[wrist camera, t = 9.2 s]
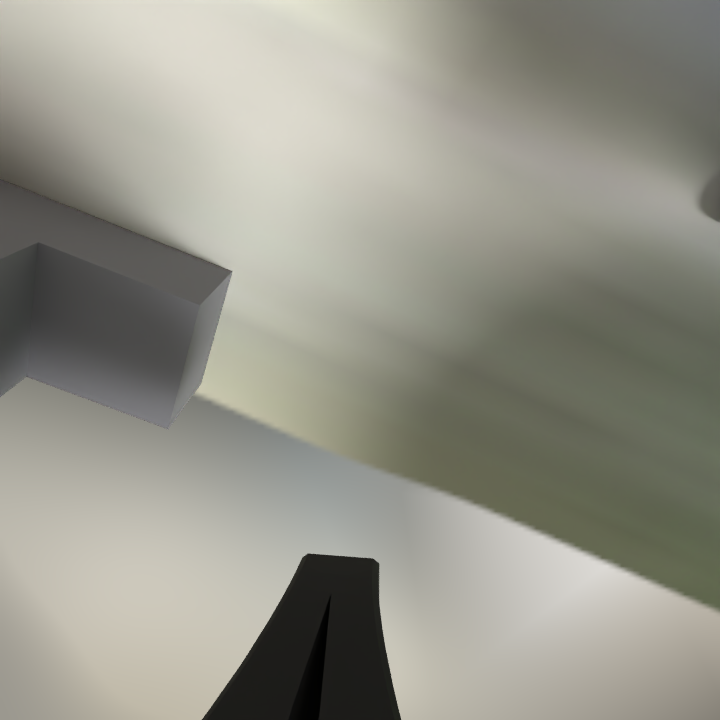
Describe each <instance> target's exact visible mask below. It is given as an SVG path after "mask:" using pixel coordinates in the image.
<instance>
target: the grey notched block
mask: <svg viewBox="0 0 720 720" xmlns="http://www.w3.org/2000/svg"><path fill="white" fill-rule="evenodd" d="M231 274H232V271H230V270H227V269H225V268H222V267H220V266H217V265H215V264H212V263H210V262H207V261H204V260H202V259H199V258H197V257H194V256H192V255H189V254H187V253H184V252H182V251H179V250H177V249H174V248H172V247H169V246H167V245H164V244H162V243H159V242H157V241H154V240H152V239H149V238H147V237H144V236H142V235H139V234H137V233H134V232H132V231H129V230H127V229H124V228H122V227H119V226H117V225H114V224H112V223H109V222H106V221H104V220H101V219H99V218H96V217H94V216H91V215H89V214H86V213H84V212H81V211H79V210H76V209H74V208H71V207H69V206H66V205H64V204H61V203H59V202H56V201H54V200H51V199H49V198H46V197H44V196H41V195H39V194H36V193H34V192H31V191H29V190H26V189H24V188H21V187H19V186H16V185H13V184H11V183H8V182H6V181H3V180H1V179H0V397H1V396H2V395H3V394H5V393H6V392H7V391H8V390H10V389H11V388H12V387H14V386H15V385H16V384H18V383H19V382H20V381H22V380H23V379H24V378H25V377H29V378H31V379H34V380H37V381H39V382H42V383H45V384H47V385H50V386H53V387H56V388H58V389H61V390H64V391H66V392H69V393H72V394H74V395H77V396H80V397H82V398H86V399H88V400H91V401H93V402H96V403H99V404H101V405H104V406H107V407H110V408H112V409H115V410H118V411H120V412H123V413H126V414H128V415H131V416H134V417H136V418H139V419H142V420H144V421H147V422H150V423H153V424H155V425H158V426H161V427H163V428H166V429H169V427H170V426H171V425H172V423H173V422H174V421H175V419H176V418H177V416H178V415H179V414H180V412H181V411H182V409H183V408H184V407H185V405H186V404H187V402H188V401H189V400H190V398H191V397H192V395H193V394H194V393H195V391H196V390H197V389H198V387H199V386H200V384H201V382H202V379H203V375H204V371H205V368H206V364H207V361H208V357H209V353H210V350H211V346H212V343H213V339H214V335H215V332H216V328H217V325H218V321H219V317H220V314H221V310H222V307H223V303H224V300H225V296H226V292H227V289H228V285H229V282H230V278H231Z"/></svg>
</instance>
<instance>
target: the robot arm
mask: <svg viewBox="0 0 720 720" xmlns="http://www.w3.org/2000/svg"><path fill="white" fill-rule="evenodd" d="M202 720H401V717H400V713H399V709H398V706H397V701H396V697H395V692H394V688H393V684H392V679H391V673H390V668H389V664H388V659H387V653H386V649H385V643H384V637H383V630H382V623H381V615H380V607H379V563H378V562H376V561H375V560H374V559H371V558H358V557H345V556H332V555H319V554H307V555H306V556H304V557H303V558H302V560H301V562H300V564H299V566H298V568H297V570H296V573H295V574H294V576H293V578H292V580H291V583H290V584H289V586H288V588H287V590H286V592H285V594H284V595H283V597H282V599H281V601H280V602H279V604H278V606H277V607H276V609H275V611H274V613H273V614H272V616H271V618H270V620H269V621H268V623H267V624H266V626H265V628H264V629H263V631H262V632H261V634H260V635H259V637H258V639H257V640H256V642H255V643H254V645H253V647H252V648H251V650H250V651H249V653H248V655H247V656H246V658H245V659H244V661H243V662H242V664H241V665H240V667H239V668H238V670H237V671H236V673H235V674H234V675H233V677H232V678H231V680H230V681H229V683H228V684H227V685H226V687H225V688H224V690H223V691H222V692H221V694H220V695H219V697H218V698H217V700H216V701H215V702H214V704H213V705H212V707H211V708H210V710H209V711H208V712H207V714H206V715H205V716H204V718H203V719H202Z"/></svg>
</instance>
